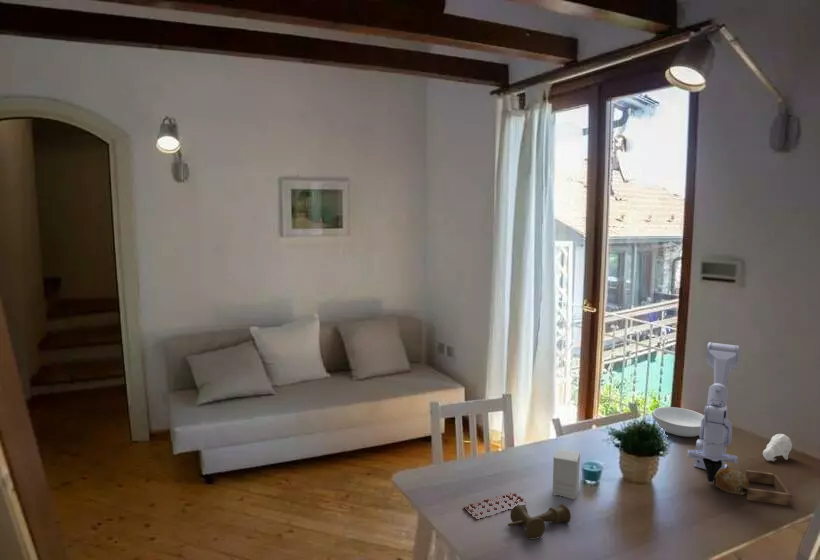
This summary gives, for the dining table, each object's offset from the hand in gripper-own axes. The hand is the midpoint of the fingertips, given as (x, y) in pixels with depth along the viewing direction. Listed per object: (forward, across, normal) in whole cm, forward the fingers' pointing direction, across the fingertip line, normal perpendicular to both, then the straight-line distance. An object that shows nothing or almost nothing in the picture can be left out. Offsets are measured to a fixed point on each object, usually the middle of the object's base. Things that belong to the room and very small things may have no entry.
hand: (710, 480), depth 184 cm
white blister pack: (+2, -66, -35) cm, 75 cm away
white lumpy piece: (+2, +27, +29) cm, 40 cm away
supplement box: (+2, -46, -20) cm, 50 cm away
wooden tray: (+1, +15, 0) cm, 15 cm away
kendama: (+2, -53, -43) cm, 68 cm away
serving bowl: (+2, -2, +45) cm, 45 cm away
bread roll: (+2, +6, 0) cm, 6 cm away
